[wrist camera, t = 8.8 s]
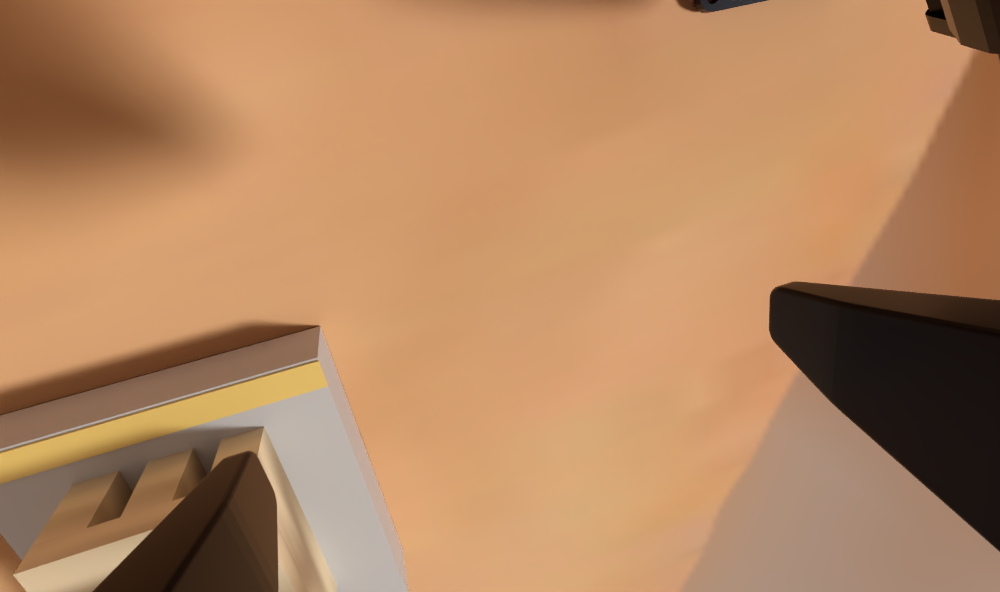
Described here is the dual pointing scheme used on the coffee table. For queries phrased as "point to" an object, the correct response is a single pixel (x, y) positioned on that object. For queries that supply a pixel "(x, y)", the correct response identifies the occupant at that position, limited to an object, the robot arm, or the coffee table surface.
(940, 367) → the robot arm
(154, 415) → the dock
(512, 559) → the coffee table surface
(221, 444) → the pallet
